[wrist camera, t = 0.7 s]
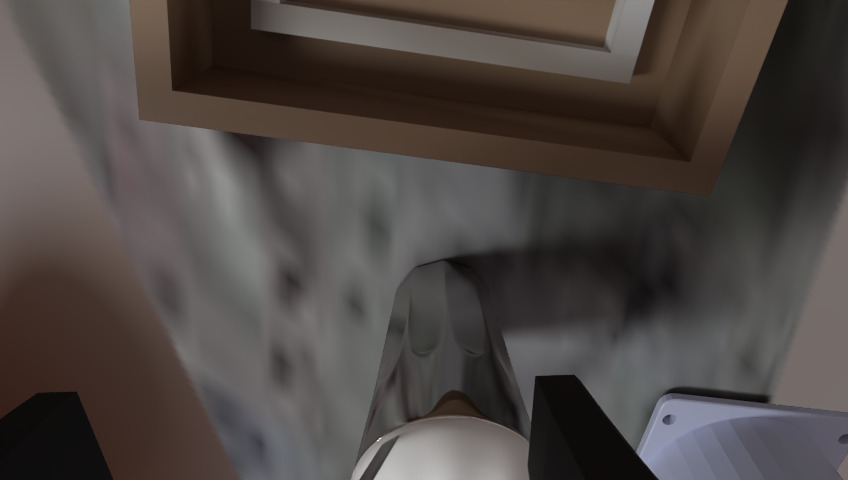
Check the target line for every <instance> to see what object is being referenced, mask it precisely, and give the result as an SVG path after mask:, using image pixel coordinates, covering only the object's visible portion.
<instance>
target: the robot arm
mask: <svg viewBox="0 0 848 480" xmlns="http://www.w3.org/2000/svg"><path fill="white" fill-rule="evenodd" d="M667 415H670V416H668V417H665V416H667ZM847 454H848V413H845V412H837V411H828V410H820V409H811V408H802V407H793V406H783V405H775V404H766V403H757V402H748V401H740V400H731V399H722V398H713V397H704V396H695V395H686V394H677V393H669V394H666V395H664V396H663V397H661V398H660V399H659V401H658V402H657V405H656V407H655V409H654V412H653V414H652V416H651V419H650V421H649V423H648V426H647V428H646V430H645V433H644V435H643V437H642V440H641V442H640V444H639V447H638V449H637V451H636V452H635V451H634V450H633V448H632V447H631V446H630V445H629V443H628V442H627V441H626V440H625V438H624V437H623V436H622V435H621V433H620V432H619V431H618V430H617V428H616V427H615V426H614V425H613V423H612V422H611V421H610V419H609V418H608V417H607V416H606V414H605V413H604V412H603V410H602V409H601V408H600V406H599V405H598V404H597V402H596V401H595V400H594V398H593V397H592V396H591V394H590V393H589V392H588V390H587V389H586V388H585V386H584V385H583V384H582V382H581V381H580V380H579V379H578V378H577V377H576V376H575V375H552V376H535V387H534V398H533V409H532V420H531V431H530V443H529V454H528V465H527V466H528V473H529V479H530V480H843V479H842V478H841V477H840V475H839V474H838V472H836V470H837V469H838V467H839V466H840V464H841V463H842V461H843V460H844V458H845V457H846V455H847ZM0 480H113V478H112V476H111V474H110V471H109V468H108V466H107V463H106V461H105V459H104V456H103V454H102V451H101V449H100V447H99V445H98V442H97V439H96V437H95V435H94V432H93V430H92V427H91V425H90V423H89V420H88V418H87V415H86V413H85V410H84V408H83V406H82V403H81V401H80V398H79V396H78V393H77V392H49V393H37V394H36V395H34V396H32V397H31V398H30V399H28V400H27V401H25V402H24V403H22V404H21V405H19V406H18V407H16V408H15V409H14V410H12V411H11V412H9V413H8V414H7V415H5V416H4V417H3V418H1V419H0Z"/></svg>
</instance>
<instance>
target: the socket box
mask: <svg viewBox="0 0 848 480" xmlns="http://www.w3.org/2000/svg"><path fill="white" fill-rule="evenodd" d="M787 2H788V0H129V3H130V15H131V27H132V38H133V50H134V62H135V73H136V85H137V96H138V108H139V120H146V121H153V122H161V123H168V124H176V125H183V126H190V127H198V128H205V129H213V130H220V131H228V132H235V133H242V134H250V135H257V136H265V137H272V138H280V139H287V140H294V141H302V142H309V143H317V144H324V145H331V146H339V147H346V148H354V149H361V150H369V151H376V152H383V153H391V154H398V155H406V156H413V157H421V158H428V159H435V160H443V161H450V162H458V163H465V164H473V165H480V166H487V167H495V168H502V169H510V170H517V171H524V172H532V173H539V174H547V175H554V176H562V177H569V178H576V179H584V180H591V181H599V182H606V183H614V184H621V185H628V186H636V187H643V188H651V189H658V190H665V191H673V192H680V193H688V194H695V195H703V196H710V195H711V192H712V190H713V187H714V185H715V182H716V180H717V177H718V175H719V172H720V170H721V167H722V165H723V162H724V160H725V157H726V155H727V152H728V150H729V147H730V145H731V142H732V140H733V137H734V135H735V132H736V130H737V127H738V125H739V122H740V120H741V117H742V115H743V112H744V110H745V107H746V105H747V102H748V100H749V97H750V95H751V92H752V90H753V87H754V85H755V82H756V80H757V77H758V75H759V72H760V70H761V67H762V65H763V62H764V60H765V57H766V55H767V52H768V50H769V47H770V45H771V42H772V40H773V37H774V35H775V32H776V29H777V27H778V24H779V22H780V19H781V17H782V14H783V12H784V9H785V7H786V4H787Z"/></svg>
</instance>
